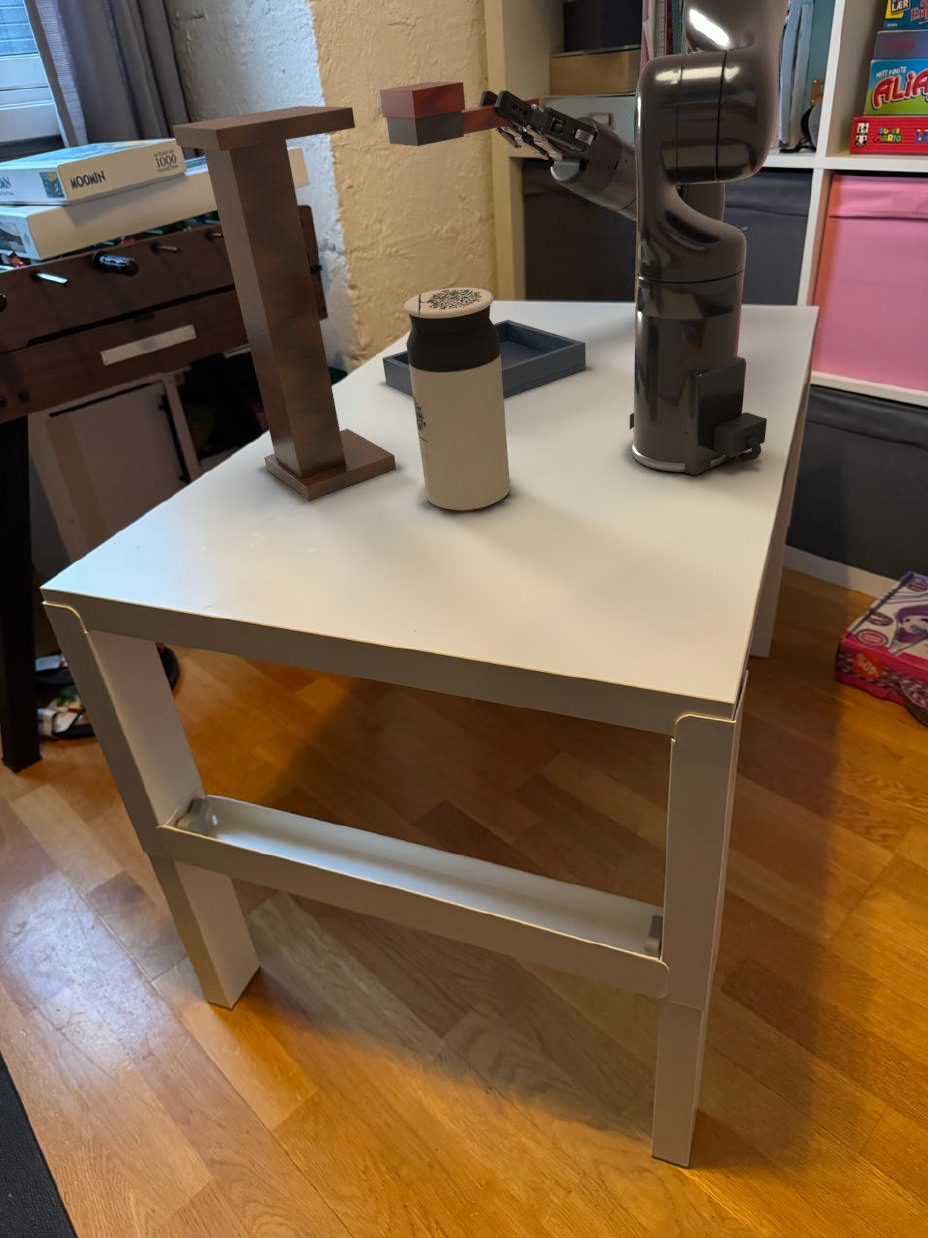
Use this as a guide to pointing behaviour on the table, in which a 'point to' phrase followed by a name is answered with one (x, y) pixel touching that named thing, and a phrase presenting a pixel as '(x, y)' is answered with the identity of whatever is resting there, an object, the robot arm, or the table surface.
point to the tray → (513, 359)
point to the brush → (435, 113)
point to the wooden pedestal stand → (282, 293)
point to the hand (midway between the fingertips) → (491, 100)
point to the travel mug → (458, 397)
